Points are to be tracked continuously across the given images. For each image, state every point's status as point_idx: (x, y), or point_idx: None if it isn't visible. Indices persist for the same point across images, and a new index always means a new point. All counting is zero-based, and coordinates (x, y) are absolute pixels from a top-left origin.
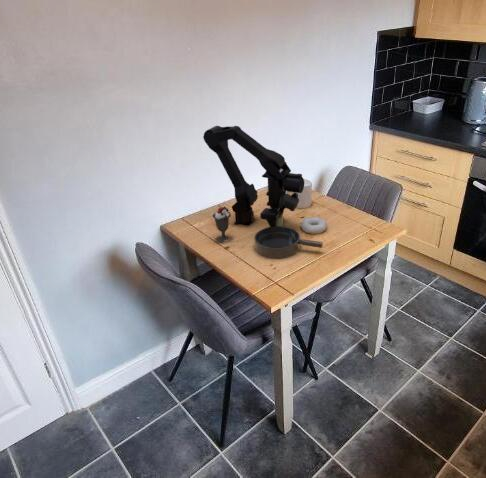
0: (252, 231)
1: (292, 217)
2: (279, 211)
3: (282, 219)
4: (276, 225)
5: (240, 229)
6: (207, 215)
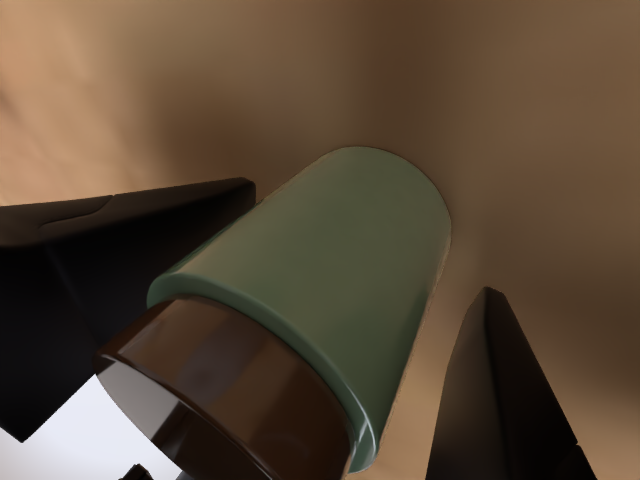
0: (434, 430)
1: (87, 12)
2: (111, 377)
3: (294, 231)
4: (428, 300)
5: (393, 465)
6: None
